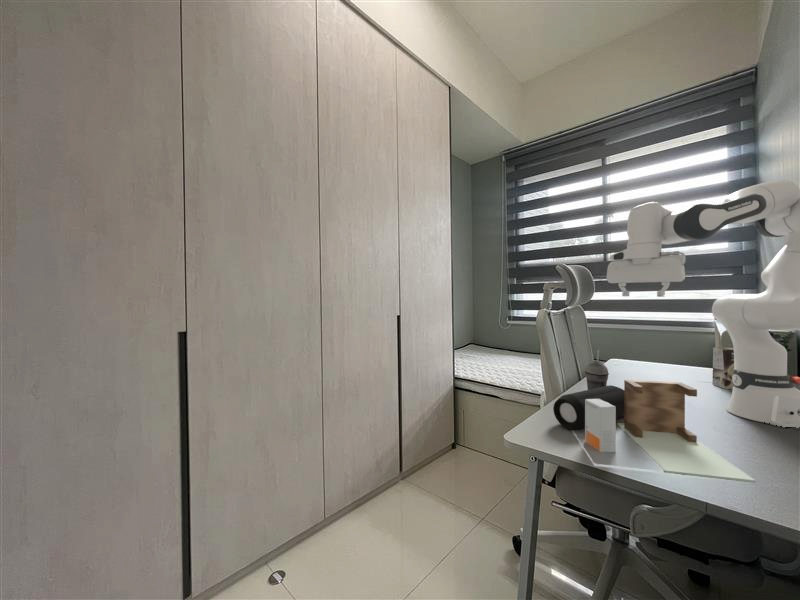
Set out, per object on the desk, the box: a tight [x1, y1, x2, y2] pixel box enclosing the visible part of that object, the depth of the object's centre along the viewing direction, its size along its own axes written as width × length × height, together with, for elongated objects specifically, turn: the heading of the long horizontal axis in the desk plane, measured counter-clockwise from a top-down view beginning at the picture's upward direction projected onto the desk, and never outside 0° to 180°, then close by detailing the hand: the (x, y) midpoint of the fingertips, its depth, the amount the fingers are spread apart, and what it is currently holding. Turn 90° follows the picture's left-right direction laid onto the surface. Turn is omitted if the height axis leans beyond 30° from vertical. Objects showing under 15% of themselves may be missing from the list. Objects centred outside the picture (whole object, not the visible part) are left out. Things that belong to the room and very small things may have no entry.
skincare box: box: [584, 399, 617, 453], centre depth 81 cm, size 6×4×12 cm
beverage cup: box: [584, 349, 610, 390], centre depth 111 cm, size 7×7×20 cm
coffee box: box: [712, 346, 734, 390], centre depth 129 cm, size 9×6×16 cm
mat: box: [616, 422, 756, 483], centre depth 80 cm, size 16×26×1 cm, turn 165°
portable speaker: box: [552, 385, 624, 430], centre depth 97 cm, size 26×10×10 cm, turn 115°
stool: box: [623, 379, 698, 443], centre depth 87 cm, size 14×7×14 cm, turn 75°
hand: (642, 296), depth 101 cm, fingers open, 8 cm apart
